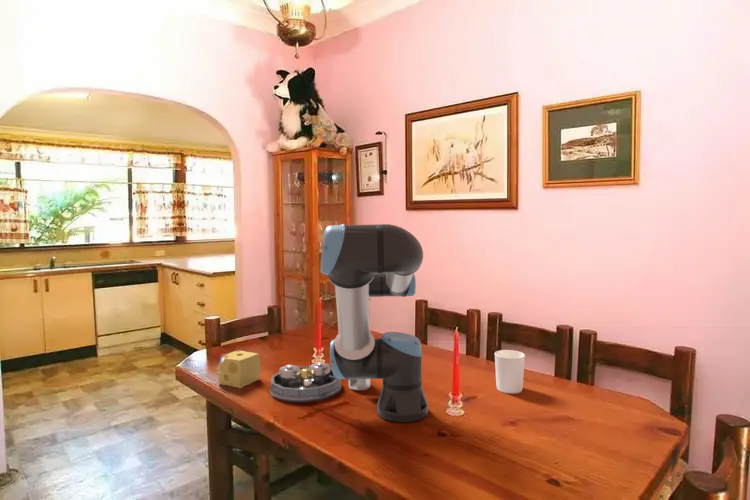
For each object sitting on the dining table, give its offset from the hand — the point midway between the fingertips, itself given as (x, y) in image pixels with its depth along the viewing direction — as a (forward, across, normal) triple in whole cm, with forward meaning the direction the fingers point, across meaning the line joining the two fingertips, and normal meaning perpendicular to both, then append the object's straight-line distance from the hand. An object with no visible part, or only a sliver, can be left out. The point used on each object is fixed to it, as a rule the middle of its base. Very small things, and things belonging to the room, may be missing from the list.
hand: (359, 369), depth 161 cm
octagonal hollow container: (+6, -1, 0) cm, 6 cm away
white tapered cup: (+6, -17, -48) cm, 51 cm away
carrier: (+6, +2, +18) cm, 19 cm away
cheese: (+6, +15, +40) cm, 43 cm away
